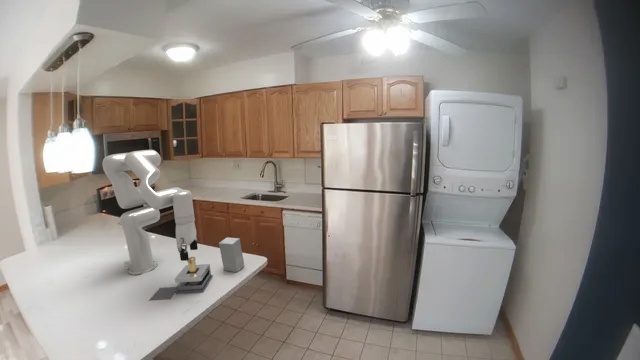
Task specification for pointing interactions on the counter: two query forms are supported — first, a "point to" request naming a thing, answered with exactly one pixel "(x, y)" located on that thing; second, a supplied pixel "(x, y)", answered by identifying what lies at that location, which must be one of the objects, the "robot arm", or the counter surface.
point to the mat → (164, 293)
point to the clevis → (193, 279)
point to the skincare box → (231, 254)
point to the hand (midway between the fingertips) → (189, 254)
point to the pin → (192, 265)
